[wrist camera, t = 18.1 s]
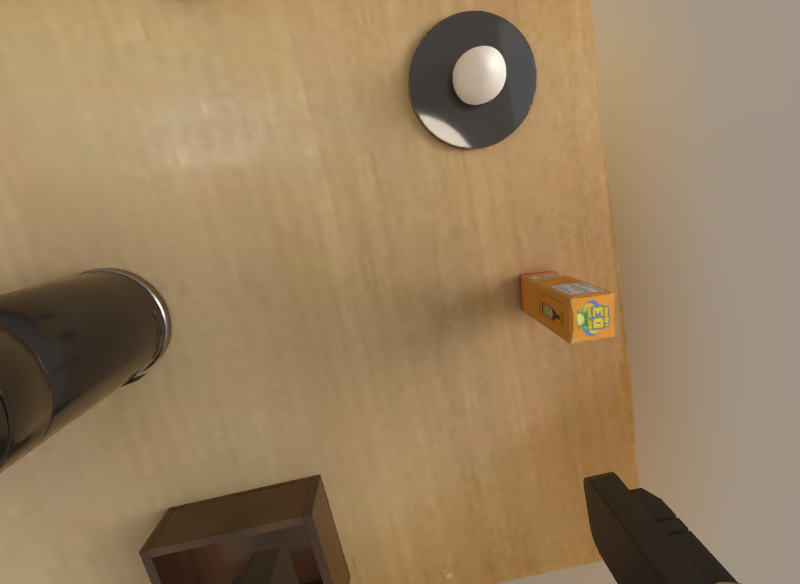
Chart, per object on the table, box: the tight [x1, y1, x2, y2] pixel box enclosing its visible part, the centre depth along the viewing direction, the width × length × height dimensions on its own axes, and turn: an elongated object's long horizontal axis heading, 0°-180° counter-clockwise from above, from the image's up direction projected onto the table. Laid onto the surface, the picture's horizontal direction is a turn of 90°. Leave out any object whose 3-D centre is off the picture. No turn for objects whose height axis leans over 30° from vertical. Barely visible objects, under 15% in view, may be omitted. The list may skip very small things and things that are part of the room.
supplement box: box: [521, 272, 614, 345], centre depth 35 cm, size 3×3×10 cm
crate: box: [139, 475, 350, 584], centre depth 41 cm, size 15×12×5 cm
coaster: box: [409, 11, 537, 149], centre depth 36 cm, size 10×10×1 cm
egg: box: [453, 46, 506, 105], centre depth 33 cm, size 4×4×6 cm
